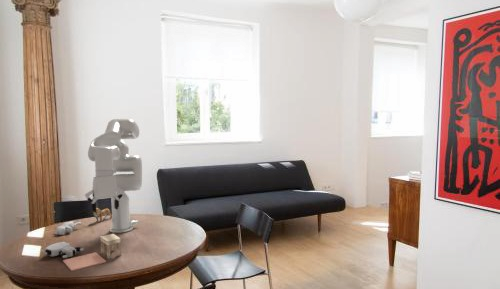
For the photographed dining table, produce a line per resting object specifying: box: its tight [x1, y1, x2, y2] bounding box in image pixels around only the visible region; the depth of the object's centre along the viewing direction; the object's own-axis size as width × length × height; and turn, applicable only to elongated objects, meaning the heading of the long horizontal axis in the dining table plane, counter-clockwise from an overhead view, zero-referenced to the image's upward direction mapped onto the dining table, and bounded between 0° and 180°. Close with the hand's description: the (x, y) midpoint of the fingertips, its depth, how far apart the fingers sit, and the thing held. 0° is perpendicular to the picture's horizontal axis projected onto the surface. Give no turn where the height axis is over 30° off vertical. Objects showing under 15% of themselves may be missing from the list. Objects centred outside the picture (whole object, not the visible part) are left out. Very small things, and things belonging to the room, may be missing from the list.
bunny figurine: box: [54, 220, 83, 236], centre depth 204 cm, size 10×5×15 cm
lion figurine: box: [92, 207, 112, 223], centre depth 226 cm, size 15×5×9 cm, turn 164°
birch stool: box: [99, 233, 122, 259], centre depth 169 cm, size 6×9×8 cm, turn 40°
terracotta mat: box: [62, 252, 107, 272], centre depth 161 cm, size 14×14×1 cm
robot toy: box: [40, 240, 85, 259], centre depth 169 cm, size 12×4×15 cm
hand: (105, 210), depth 169 cm, fingers open, 9 cm apart
